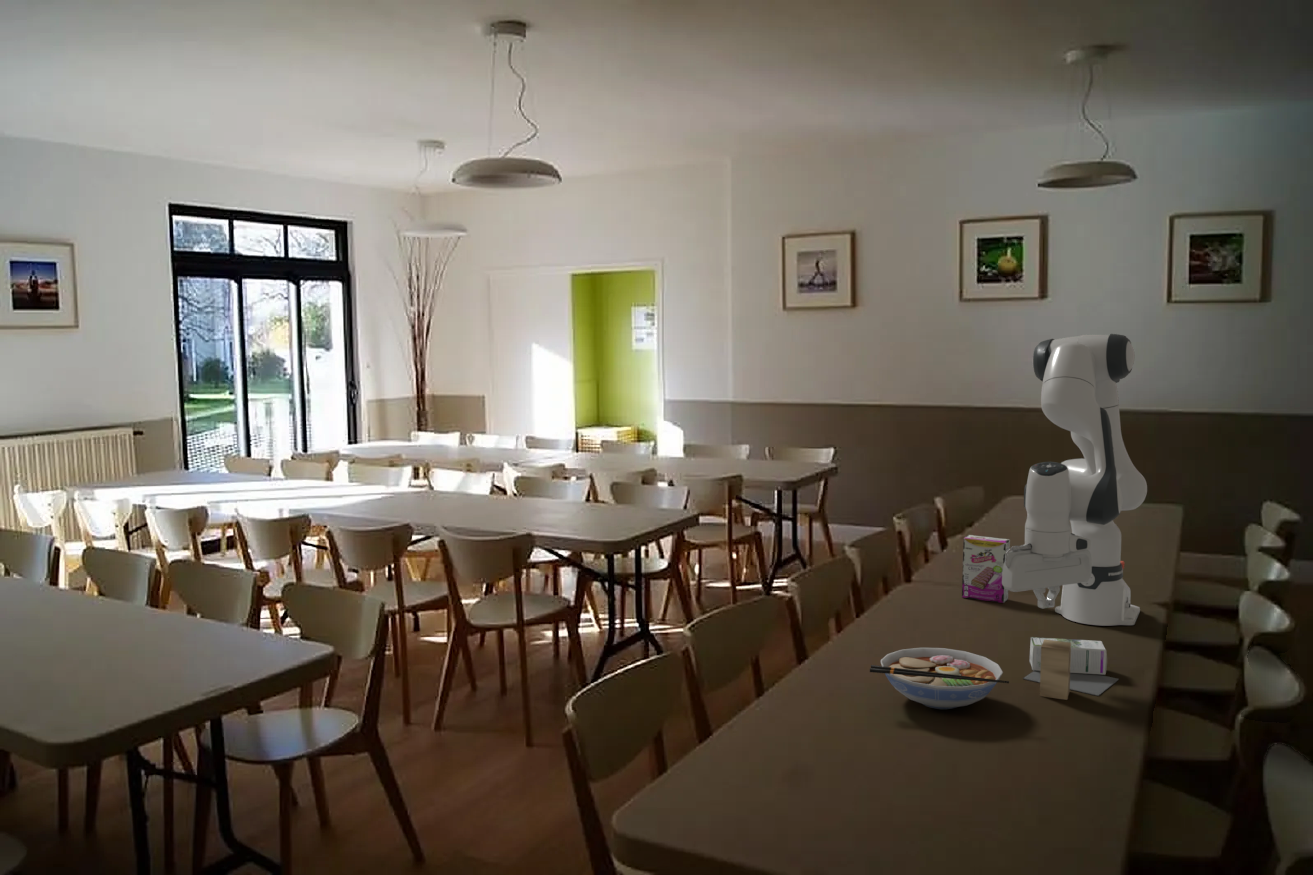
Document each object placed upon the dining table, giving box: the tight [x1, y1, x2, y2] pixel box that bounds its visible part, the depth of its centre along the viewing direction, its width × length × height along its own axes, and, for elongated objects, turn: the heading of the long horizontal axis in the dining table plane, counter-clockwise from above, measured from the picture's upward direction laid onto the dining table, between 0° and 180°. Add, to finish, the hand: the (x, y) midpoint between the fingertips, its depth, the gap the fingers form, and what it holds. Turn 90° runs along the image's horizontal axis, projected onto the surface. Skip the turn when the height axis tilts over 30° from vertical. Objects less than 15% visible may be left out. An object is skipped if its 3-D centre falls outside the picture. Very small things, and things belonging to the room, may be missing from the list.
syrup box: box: [1029, 636, 1108, 676], centre depth 214 cm, size 6×6×14 cm
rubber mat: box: [1022, 670, 1120, 697], centre depth 209 cm, size 12×15×1 cm
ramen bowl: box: [869, 647, 1010, 710], centre depth 197 cm, size 25×23×8 cm
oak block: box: [1039, 639, 1071, 701], centre depth 200 cm, size 5×5×10 cm
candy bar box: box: [961, 534, 1011, 604], centre depth 269 cm, size 11×5×16 cm, turn 58°
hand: (1046, 607), depth 211 cm, fingers closed
